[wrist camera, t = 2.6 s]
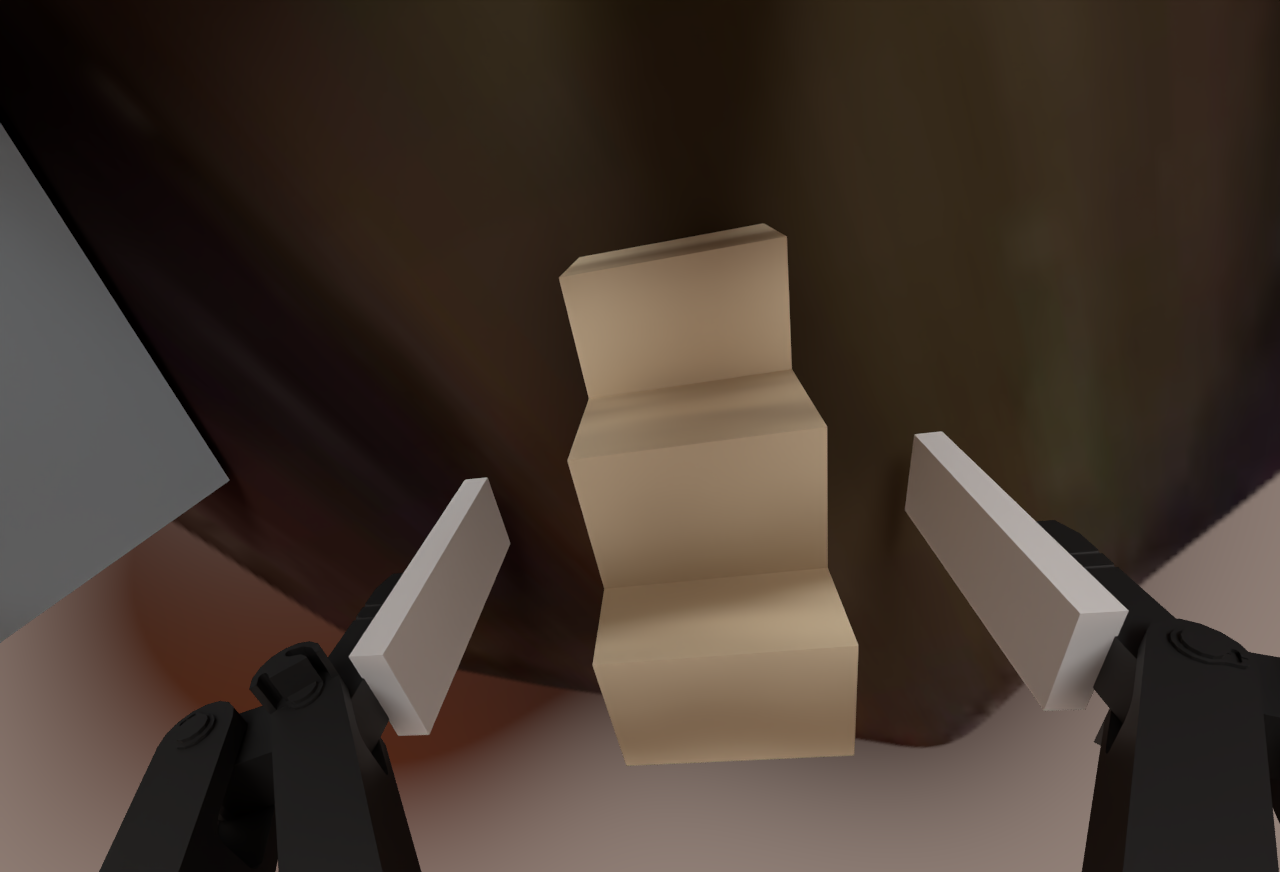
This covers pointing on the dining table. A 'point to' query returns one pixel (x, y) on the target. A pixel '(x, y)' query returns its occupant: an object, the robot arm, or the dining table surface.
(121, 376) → the door
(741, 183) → the dining table surface
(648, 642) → the toy staircase
